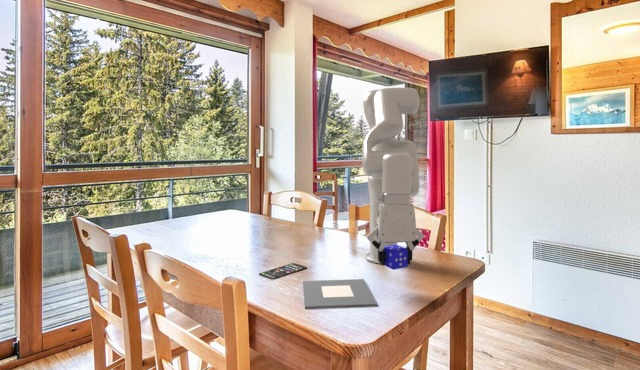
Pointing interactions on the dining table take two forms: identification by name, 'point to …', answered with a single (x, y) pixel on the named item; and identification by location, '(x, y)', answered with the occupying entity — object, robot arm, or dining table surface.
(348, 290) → the mat
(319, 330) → the dining table surface
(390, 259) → the die
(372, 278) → the dining table surface
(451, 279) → the dining table surface
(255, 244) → the dining table surface
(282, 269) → the smartphone
